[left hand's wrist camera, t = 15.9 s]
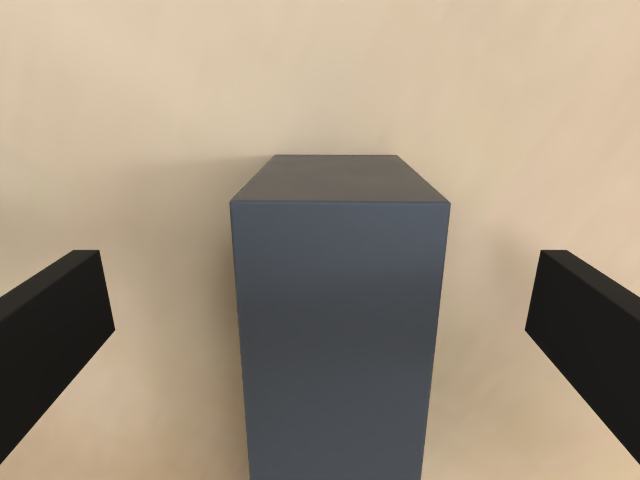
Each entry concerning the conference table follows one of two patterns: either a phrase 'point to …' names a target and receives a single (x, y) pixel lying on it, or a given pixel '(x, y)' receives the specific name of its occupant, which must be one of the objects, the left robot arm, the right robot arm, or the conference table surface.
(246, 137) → the conference table surface
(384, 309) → the bar
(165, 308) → the conference table surface
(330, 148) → the conference table surface
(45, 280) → the left robot arm
